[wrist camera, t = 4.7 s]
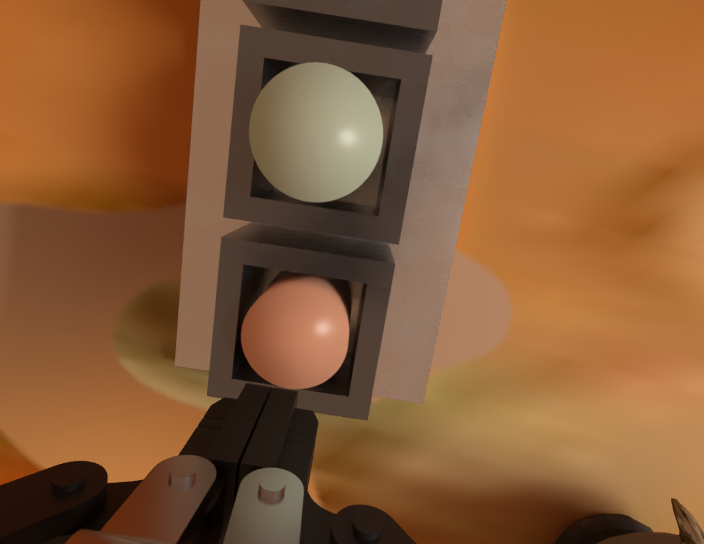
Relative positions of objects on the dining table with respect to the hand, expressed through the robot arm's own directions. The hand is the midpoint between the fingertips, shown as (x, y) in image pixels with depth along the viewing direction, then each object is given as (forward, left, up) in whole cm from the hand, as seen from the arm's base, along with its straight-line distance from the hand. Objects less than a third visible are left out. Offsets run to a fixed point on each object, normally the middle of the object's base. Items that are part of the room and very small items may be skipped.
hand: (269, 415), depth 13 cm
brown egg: (0, 0, -11) cm, 11 cm away
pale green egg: (0, -8, -9) cm, 12 cm away
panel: (0, -8, -13) cm, 15 cm away
